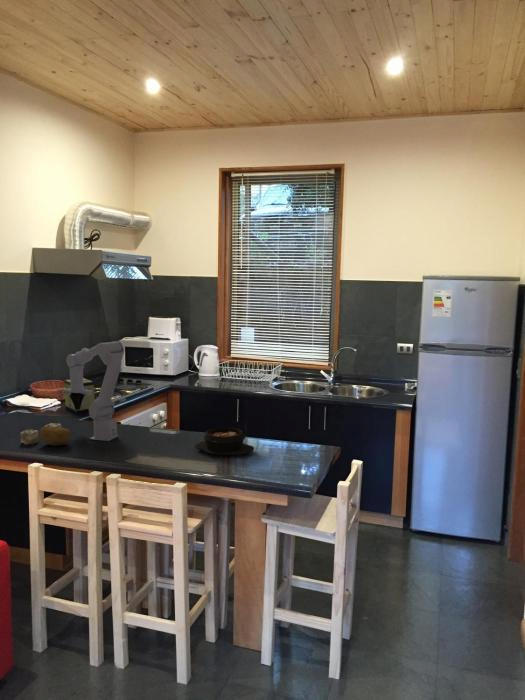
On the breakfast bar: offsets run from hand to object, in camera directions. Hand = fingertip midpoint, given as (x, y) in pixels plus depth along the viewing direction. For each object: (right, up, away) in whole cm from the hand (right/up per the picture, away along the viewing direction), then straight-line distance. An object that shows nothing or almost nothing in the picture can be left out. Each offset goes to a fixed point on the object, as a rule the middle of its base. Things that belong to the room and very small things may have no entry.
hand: (77, 409), depth 260 cm
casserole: (+69, -15, -27) cm, 75 cm away
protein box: (-13, -5, +44) cm, 46 cm away
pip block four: (-15, -13, -16) cm, 26 cm away
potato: (-3, -13, -19) cm, 24 cm away
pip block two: (-9, -11, -5) cm, 16 cm away
